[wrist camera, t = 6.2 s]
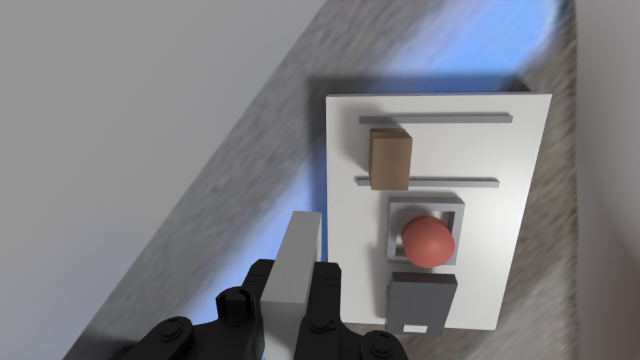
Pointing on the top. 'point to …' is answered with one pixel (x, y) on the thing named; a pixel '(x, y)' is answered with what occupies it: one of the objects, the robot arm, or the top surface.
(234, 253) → the top surface
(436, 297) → the tall dark grey panel
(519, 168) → the panel
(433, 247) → the red button
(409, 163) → the slider knob
